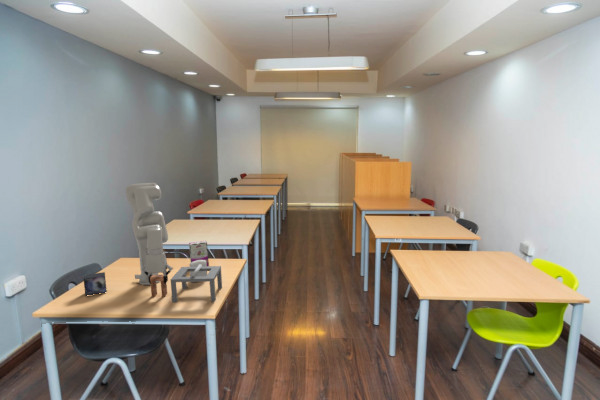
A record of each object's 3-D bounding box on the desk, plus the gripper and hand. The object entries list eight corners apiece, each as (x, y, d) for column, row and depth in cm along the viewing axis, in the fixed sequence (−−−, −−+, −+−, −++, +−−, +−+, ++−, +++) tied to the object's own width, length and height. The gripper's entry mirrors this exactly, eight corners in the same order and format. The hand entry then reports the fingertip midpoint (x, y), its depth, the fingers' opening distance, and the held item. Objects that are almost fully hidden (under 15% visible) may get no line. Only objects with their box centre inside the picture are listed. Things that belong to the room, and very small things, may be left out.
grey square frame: (172, 302, 198) (170, 275, 195) (183, 288, 217) (181, 263, 214) (214, 301, 198) (213, 274, 195) (222, 287, 217) (220, 262, 214)
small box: (85, 297, 207) (82, 278, 205) (85, 293, 213) (83, 275, 211) (106, 293, 212) (104, 275, 210) (106, 289, 217) (104, 271, 216)
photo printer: (206, 277, 232) (204, 257, 230) (208, 279, 229) (207, 259, 227) (189, 281, 227) (187, 261, 225) (191, 283, 223) (190, 263, 221)
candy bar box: (207, 264, 257) (206, 240, 254) (209, 266, 252) (207, 242, 250) (190, 266, 253) (188, 242, 250) (191, 268, 248) (189, 244, 245)
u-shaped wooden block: (151, 297, 205) (150, 277, 203) (154, 294, 209) (152, 274, 207) (164, 296, 205) (163, 277, 203) (167, 293, 209) (165, 274, 207)
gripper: (136, 253, 199) (139, 285, 202) (169, 252, 199) (172, 285, 202) (142, 249, 207) (145, 280, 210) (174, 248, 207) (176, 279, 210)
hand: (158, 282), depth 206 cm, fingers closed on u-shaped wooden block, 7 cm apart
